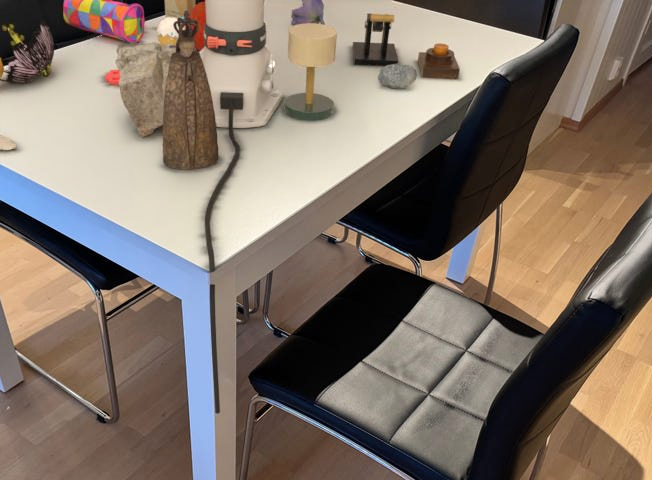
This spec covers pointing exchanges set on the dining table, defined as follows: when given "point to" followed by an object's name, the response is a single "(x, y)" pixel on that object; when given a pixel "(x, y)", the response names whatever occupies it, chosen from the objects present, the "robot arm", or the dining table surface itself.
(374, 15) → the switch lever
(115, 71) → the building block
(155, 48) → the stone
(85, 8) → the pencil case
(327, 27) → the lamp
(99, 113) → the dining table surface
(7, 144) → the arrowhead
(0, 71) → the potato
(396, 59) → the switch bracket
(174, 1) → the cosmetic box
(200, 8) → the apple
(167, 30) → the ornament
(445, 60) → the button block
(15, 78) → the decorative flower
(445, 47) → the button
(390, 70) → the grey rock
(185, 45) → the statue
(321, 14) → the flower
